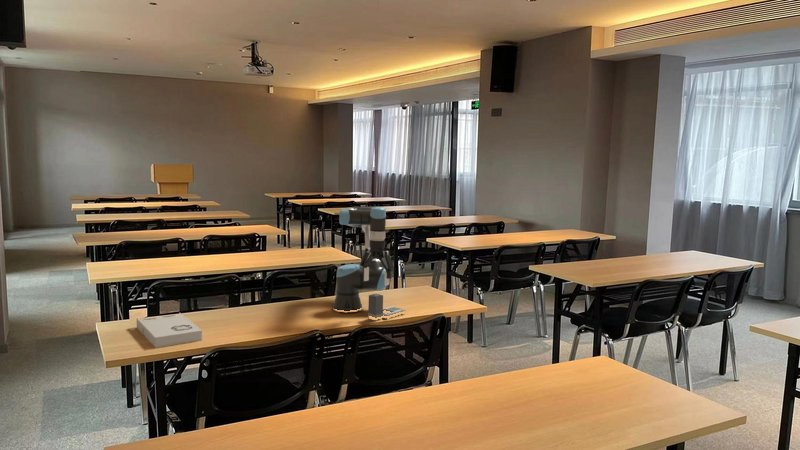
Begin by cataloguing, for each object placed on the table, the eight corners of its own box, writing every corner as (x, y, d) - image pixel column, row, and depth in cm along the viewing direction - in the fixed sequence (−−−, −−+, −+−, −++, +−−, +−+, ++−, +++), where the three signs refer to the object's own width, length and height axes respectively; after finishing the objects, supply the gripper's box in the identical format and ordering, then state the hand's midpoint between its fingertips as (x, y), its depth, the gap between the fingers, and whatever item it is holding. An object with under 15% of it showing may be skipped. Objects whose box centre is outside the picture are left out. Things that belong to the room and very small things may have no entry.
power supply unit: (179, 322, 272) (179, 312, 272) (202, 341, 246) (202, 330, 246) (136, 328, 261) (136, 318, 261) (155, 349, 235) (155, 337, 234)
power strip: (373, 315, 291) (373, 310, 290) (391, 310, 301) (392, 305, 301) (386, 319, 285) (387, 314, 284) (405, 314, 295) (405, 308, 295)
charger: (368, 319, 285) (368, 295, 283) (375, 317, 288) (375, 293, 287) (375, 321, 281) (376, 296, 280) (382, 319, 285) (383, 295, 284)
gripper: (353, 237, 285) (352, 279, 288) (391, 243, 270) (390, 288, 272) (364, 236, 291) (363, 277, 294) (402, 241, 275) (401, 285, 278)
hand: (376, 282), depth 283 cm, fingers open, 13 cm apart
